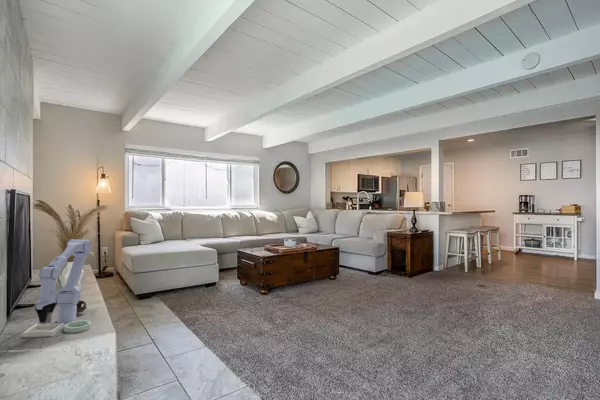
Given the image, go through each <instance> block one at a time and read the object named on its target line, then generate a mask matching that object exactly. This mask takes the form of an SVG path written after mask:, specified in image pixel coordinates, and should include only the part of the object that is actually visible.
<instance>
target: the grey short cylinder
mask: <svg viewBox="0 0 600 400" xmlns="http://www.w3.org/2000/svg"><path fill="white" fill-rule="evenodd" d="M52 316H53V313H52V312H48V314H47V318H46V321H45V322H39V321H38V324H50V323H52Z"/></svg>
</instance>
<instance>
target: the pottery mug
mask: <svg viewBox="0 0 600 400" xmlns="http://www.w3.org/2000/svg"><path fill="white" fill-rule="evenodd" d="M82 305H83V306H82ZM76 306H77V313H76V315H77V314H79V313H82V312H84V311H85V310H87V309H88V308H87V303H86V302H85V301H84V300H81V299H80V300H79V302H78V303H77V304H76Z"/></svg>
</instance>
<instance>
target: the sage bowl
mask: <svg viewBox="0 0 600 400" xmlns="http://www.w3.org/2000/svg"><path fill="white" fill-rule="evenodd" d="M91 328H92V322H91V321H90V320H86V319H85V320H74V321H72V322H68V323H64V327H63V332H64V333H69V334H71V333H72V334H73V333H81V332H85V331H88V330H90V329H91Z"/></svg>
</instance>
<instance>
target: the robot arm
mask: <svg viewBox="0 0 600 400" xmlns="http://www.w3.org/2000/svg"><path fill="white" fill-rule="evenodd" d="M91 249H92V242H91V241H90V240H89V239H72V238H71V239H70V240H68V242H67V243H66V248H65V249H64V251H63V252H62V253H61V254H60V255H57V256H55V258H54V259H52V261H51V262H50V263H49V264H48V265H47V266H43V267H42V268H41V269H40V270H39V273H38V278H39V282H40V291H39V292H40V293H39V300H37V301H36V304H37V305H36V307H35V309H34V310H35V312H36V315H37V316H38V323H39V322H45V321H46V318H47V314H48V312H52V314H53V312H54V311H55V309H56V306H57V307H58V309H57V320H56V323H64V324H67V323H70V322H73V321H75V319H77V314H78V313H77V306H76V304H77V303H78V302H79V300H81V293H82V291H81V290H80V289H79V288H78V285H79V281H80V277H81V274H82V271H83V268H84V265H85V262H86V259H87V257H88V256H89V254H90V251H91ZM71 256H73V257H74V259H73V261H72V266H71V269H70V272H69V274H68V277H67V280H66V283H65V286H63V287H61V288H59V289H58V292H57V294H56V287H57V286H56V285H57V279H58V278H59V276H60V275H61V272H62V269H63V268H64V267H65V266H66V265H67V263H68V259H69V258H70V257H71ZM76 313H77V314H76Z"/></svg>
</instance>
